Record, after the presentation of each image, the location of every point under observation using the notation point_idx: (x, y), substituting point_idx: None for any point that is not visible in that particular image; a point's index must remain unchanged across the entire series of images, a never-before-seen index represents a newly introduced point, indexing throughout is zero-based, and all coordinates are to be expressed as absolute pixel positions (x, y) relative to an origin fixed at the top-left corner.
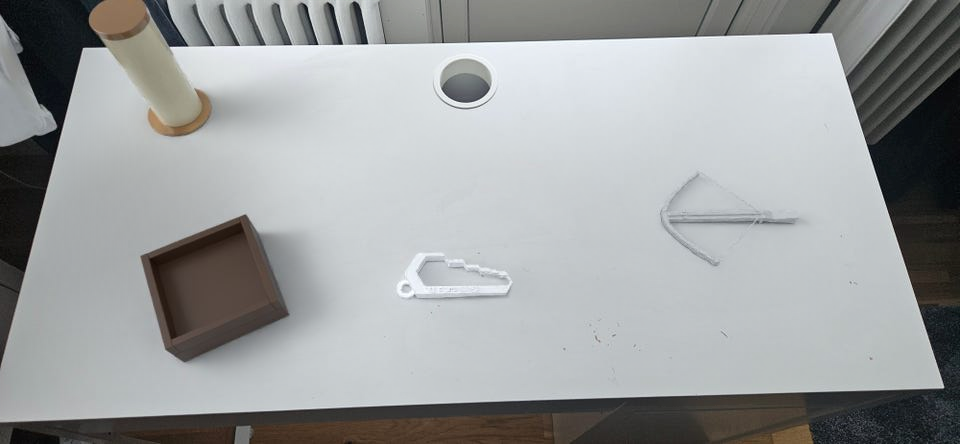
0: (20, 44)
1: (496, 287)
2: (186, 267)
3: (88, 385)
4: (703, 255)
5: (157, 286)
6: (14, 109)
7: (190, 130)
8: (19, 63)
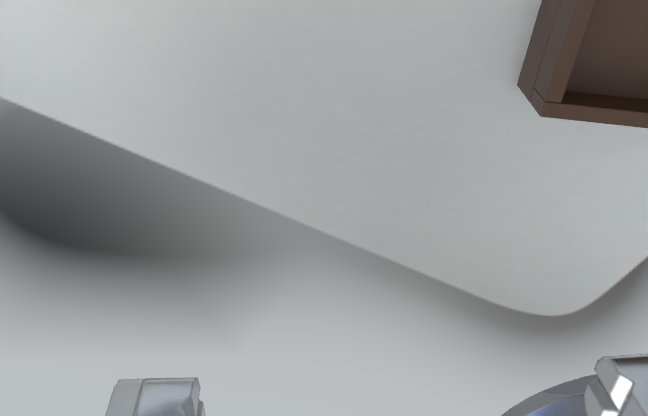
0: (180, 393)
1: None
2: (597, 37)
3: (620, 237)
4: None
5: (631, 109)
6: None
7: None
8: None
